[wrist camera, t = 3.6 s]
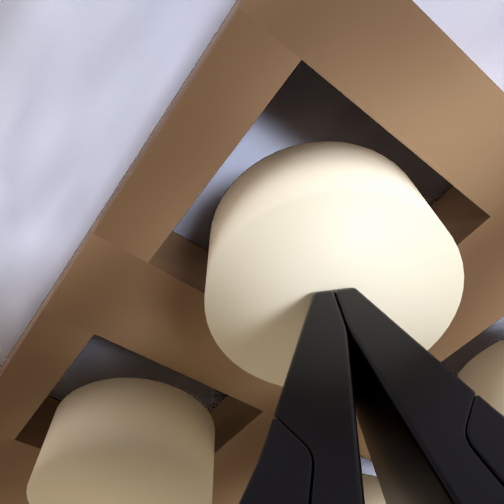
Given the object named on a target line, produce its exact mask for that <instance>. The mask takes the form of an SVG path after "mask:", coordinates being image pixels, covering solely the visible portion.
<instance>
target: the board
mask: <svg viewBox="0 0 504 504" xmlns="http://www.w3.org/2000/svg"><path fill="white" fill-rule="evenodd" d="M301 60H303V61H304V62H305V63H306V64H307V65H309V66H310V67H311V68H312V69H313V70H315V71H316V72H317V73H318V74H319V75H321V76H322V77H323V78H324V79H325V80H327V81H328V82H329V83H330V84H331V85H333V86H334V87H335V88H336V89H337V90H339V91H340V92H341V93H342V94H343V95H345V96H346V97H347V98H348V99H349V100H351V101H352V102H353V103H354V104H356V105H357V106H358V107H359V108H360V109H362V110H363V111H364V112H365V113H366V114H368V115H369V116H370V117H371V118H372V119H374V120H375V121H376V122H377V123H378V124H380V125H381V126H382V127H383V128H384V129H386V130H387V131H388V132H389V133H390V134H392V135H393V136H394V137H395V138H396V139H398V140H399V141H400V142H401V143H402V144H404V145H405V146H406V147H407V148H409V149H410V150H411V151H412V152H413V153H415V154H416V155H417V156H418V157H419V158H421V159H422V160H423V161H424V162H425V163H427V164H428V165H429V166H430V167H431V168H433V169H434V170H435V171H436V172H437V173H439V174H440V175H441V176H442V177H443V178H445V179H446V180H447V181H448V182H449V183H451V184H452V185H453V186H452V187H451V188H450V189H449V190H448V191H446V192H445V193H444V194H443V195H442V196H441V197H440V198H439V199H438V200H437V201H436V202H435V203H434V204H433V205H431V206H430V207H431V209H432V210H433V211H434V213H435V214H436V215H437V217H438V218H439V220H440V221H441V222H442V224H443V225H444V226H445V228H446V229H447V231H448V232H449V233H450V235H451V236H452V237H453V239H454V241H455V243H456V245H457V247H458V249H459V252H460V255H461V259H462V262H463V270H464V287H463V293H462V297H461V302H460V304H459V307H458V309H457V312H456V314H455V316H454V318H453V320H452V321H451V323H450V325H449V327H448V328H447V329H446V331H445V332H444V333H443V335H442V336H441V337H440V338H439V340H438V341H437V342H436V343H435V344H434V345H433V346H432V347H431V348H430V349H429V350H427V351H429V352H430V353H431V354H432V355H433V356H434V357H435V358H437V359H438V360H439V361H440V362H442V361H443V360H445V359H446V358H447V357H449V356H450V355H451V354H453V353H454V352H455V351H457V350H458V349H460V348H461V347H462V346H464V345H465V344H466V343H468V342H469V341H471V340H472V339H473V338H475V337H476V336H477V335H479V334H480V333H481V332H483V331H484V330H486V329H487V328H488V327H490V326H491V325H492V324H494V323H495V322H496V321H498V320H499V319H501V318H502V317H503V316H504V92H503V91H502V90H501V89H500V88H499V87H498V86H497V85H496V84H495V83H494V82H493V81H492V80H491V79H490V78H489V77H488V76H487V75H486V74H485V73H484V72H483V71H482V70H481V69H480V68H479V67H478V66H477V65H476V64H475V63H474V62H473V61H472V60H471V59H470V58H469V57H468V56H467V55H466V54H465V53H464V52H463V51H462V50H461V49H460V48H459V47H458V46H457V45H456V44H455V43H454V42H453V41H452V40H451V39H450V38H449V37H448V36H447V35H446V34H445V33H444V32H443V31H442V30H441V29H440V28H439V27H438V26H437V25H436V24H435V23H434V22H433V21H432V20H431V19H430V18H429V17H428V16H427V15H426V14H425V13H424V12H423V11H422V10H421V9H420V8H419V7H418V6H417V5H416V4H415V3H414V2H413V1H412V0H237V1H236V3H235V4H234V6H233V7H232V9H231V11H230V12H229V14H228V15H227V17H226V18H225V20H224V21H223V23H222V25H221V26H220V28H219V29H218V31H217V32H216V34H215V35H214V37H213V39H212V40H211V42H210V43H209V45H208V46H207V48H206V49H205V51H204V53H203V54H202V56H201V57H200V59H199V60H198V62H197V63H196V65H195V67H194V68H193V70H192V71H191V73H190V74H189V76H188V78H187V79H186V81H185V82H184V84H183V85H182V87H181V88H180V90H179V92H178V93H177V95H176V96H175V98H174V99H173V101H172V102H171V104H170V106H169V107H168V109H167V110H166V112H165V113H164V115H163V116H162V118H161V120H160V121H159V123H158V124H157V126H156V127H155V129H154V130H153V132H152V134H151V135H150V137H149V138H148V140H147V141H146V143H145V144H144V146H143V148H142V149H141V151H140V152H139V154H138V155H137V157H136V158H135V160H134V162H133V163H132V165H131V166H130V168H129V169H128V171H127V172H126V174H125V176H124V177H123V179H122V180H121V182H120V183H119V185H118V186H117V188H116V190H115V191H114V193H113V194H112V196H111V197H110V199H109V200H108V202H107V204H106V205H105V207H104V208H103V210H102V211H101V213H100V215H99V216H98V218H97V219H96V221H95V222H94V224H93V225H92V227H91V229H90V230H89V232H88V233H87V235H86V236H85V238H84V239H83V241H82V243H81V244H80V246H79V247H78V249H77V250H76V252H75V253H74V255H73V257H72V258H71V260H70V261H69V263H68V264H67V266H66V267H65V269H64V271H63V272H62V274H61V275H60V277H59V278H58V280H57V281H56V283H55V285H54V286H53V288H52V289H51V291H50V292H49V294H48V295H47V297H46V299H45V300H44V302H43V303H42V305H41V306H40V308H39V309H38V311H37V313H36V314H35V316H34V317H33V319H32V320H31V322H30V323H29V325H28V327H27V328H26V330H25V331H24V333H23V334H22V336H21V337H20V339H19V341H18V342H17V344H16V345H15V347H14V348H13V350H12V352H11V353H10V355H9V356H8V358H7V359H6V361H5V362H4V364H3V366H2V367H1V369H0V504H29V502H28V499H27V494H26V490H27V484H28V482H29V479H30V477H31V474H32V471H33V469H34V466H35V464H36V461H37V458H38V456H39V453H40V451H41V448H42V445H43V443H44V440H45V438H46V435H47V432H48V430H49V427H50V425H51V422H52V420H53V417H54V414H55V412H56V409H57V407H58V406H59V404H60V401H58V400H55V399H53V398H50V397H48V395H49V393H50V392H51V391H52V389H53V388H54V387H55V385H56V384H57V383H58V381H59V380H60V379H61V377H62V376H63V375H64V373H65V372H66V371H67V369H68V368H69V367H70V365H71V364H72V363H73V362H74V360H75V359H76V358H77V356H78V355H79V354H80V352H81V351H82V350H83V348H84V347H85V346H86V344H87V343H88V342H89V340H90V339H91V338H92V336H93V335H94V334H96V335H98V336H100V337H102V338H104V339H106V340H109V341H111V342H113V343H115V344H117V345H120V346H122V347H124V348H126V349H128V350H131V351H133V352H135V353H137V354H139V355H141V356H144V357H146V358H148V359H150V360H152V361H155V362H157V363H159V364H161V365H163V366H166V367H168V368H170V369H172V370H174V371H176V372H179V373H181V374H183V375H185V376H187V377H190V378H192V379H194V380H196V381H198V382H201V383H203V384H205V385H207V386H209V387H211V388H214V389H216V390H218V391H220V392H222V393H225V394H227V395H228V396H227V397H226V398H225V399H224V400H222V401H221V402H220V403H219V404H218V405H217V406H216V407H215V408H214V409H213V410H212V411H211V412H210V415H211V417H212V419H213V422H214V426H215V446H214V469H213V492H212V504H239V501H240V499H241V497H242V495H243V493H244V491H245V489H246V487H247V484H248V482H249V480H250V478H251V475H252V473H253V471H254V469H255V466H256V464H257V462H258V459H259V456H260V454H261V451H262V448H263V445H264V443H265V440H266V437H267V434H268V431H269V428H270V425H271V422H272V419H273V418H274V413H275V410H276V407H277V404H278V401H279V398H280V395H281V391H282V388H283V386H279V385H276V384H273V383H269V382H267V381H264V380H262V379H259V378H257V377H255V376H253V375H251V374H250V373H248V372H246V371H244V370H243V369H241V368H240V367H239V366H237V365H236V364H235V363H233V362H232V361H231V360H230V359H229V358H228V357H227V356H226V355H225V354H224V353H223V351H222V350H221V349H220V347H219V346H218V345H217V343H216V342H215V340H214V338H213V336H212V334H211V332H210V329H209V327H208V324H207V320H206V315H205V304H204V296H205V285H206V274H207V262H208V251H206V250H205V249H203V248H201V247H200V246H198V245H196V244H194V243H193V242H191V241H189V240H188V239H186V238H184V237H182V236H181V235H179V234H177V233H175V232H174V231H173V229H174V228H175V227H176V225H177V224H178V223H179V221H180V220H181V219H182V217H183V216H184V215H185V213H186V212H187V211H188V209H189V208H190V207H191V205H192V204H193V203H194V201H195V200H196V199H197V197H198V196H199V195H200V193H201V192H202V191H203V189H204V188H205V187H206V186H207V184H208V183H209V182H210V180H211V179H212V178H213V176H214V175H215V174H216V172H217V171H218V170H219V168H220V167H221V166H222V164H223V163H224V162H225V160H226V159H227V158H228V156H229V155H230V154H231V152H232V151H233V150H234V148H235V147H236V146H237V145H238V143H239V142H240V141H241V139H242V138H243V137H244V135H245V134H246V133H247V131H248V130H249V129H250V127H251V126H252V125H253V123H254V122H255V121H256V119H257V118H258V117H259V115H260V114H261V113H262V111H263V110H264V109H265V107H266V106H267V105H268V103H269V102H270V101H271V100H272V98H273V97H274V96H275V94H276V93H277V92H278V90H279V89H280V88H281V86H282V85H283V84H284V82H285V81H286V80H287V78H288V77H289V76H290V74H291V73H292V72H293V70H294V69H295V68H296V66H297V65H298V64H299V62H300V61H301ZM356 419H357V416H356ZM357 429H358V439H359V449H360V456H362V457H365V458H367V459H369V460H371V457H370V454H369V451H368V448H367V445H366V442H365V439H364V436H363V433H362V431H361V428H360V425H359V422H358V419H357ZM371 461H372V460H371Z"/></svg>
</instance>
